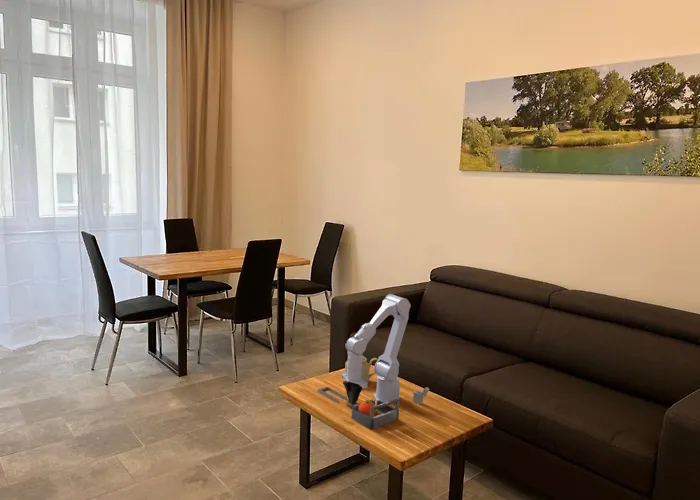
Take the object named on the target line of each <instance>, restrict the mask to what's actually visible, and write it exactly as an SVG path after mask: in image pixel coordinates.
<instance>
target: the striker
mask: <svg viewBox="0 0 700 500" xmlns="http://www.w3.org/2000/svg"><path fill="white" fill-rule="evenodd" d="M368 400H369V401H371V402H372V403H374V405H375V406H376V399H368ZM361 403H362V402H359V403H358V402H357V401H355V402H353V399H352V390H349V397H347V401H346V403H345V405H346V406H347V407H348V408H350V409H352V408H356V409H358V408H359V405H360V404H361Z"/></svg>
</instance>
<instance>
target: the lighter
mask: <svg viewBox="0 0 700 500" xmlns="http://www.w3.org/2000/svg"><path fill="white" fill-rule="evenodd" d="M429 391H430V388H429V387H428V386H427V387H424V389H423V391H422V390H420V389H415V391H413V393H412V394H413V396H412V400H413V401H414V402H413V401H412V402H413V403H415V402H416V403H415V404H417V403H418V404H417V405H419V404H421V405H423V403H424V398H425V397H426V396H427V395H428V393H429Z"/></svg>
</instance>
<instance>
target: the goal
mask: <svg viewBox="0 0 700 500" xmlns="http://www.w3.org/2000/svg"><path fill="white" fill-rule="evenodd" d="M400 402H401V401H400V398H399V399H398V398H397V399H394V400H391V401H388V402H383V401H381V400H376V404H375V406H372V407H370V416H368V415H367V414H365V413H363V412H361V411H359V410H358V409H356V408H351V417H350V418H351V419H352V420H354V421H356V422H358V423H359V424H361V425H362V426H364V427H366V428H367V429H369V430H373V429H374V430H375V429H376V428H379V427H382V426H385V425H388V424H390V423H394V422H395V421H398V420H399V417H400ZM394 404H395V405H394ZM392 405H394V406H392ZM374 410H376V412H379V413H380V414H378V415H374Z"/></svg>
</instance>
